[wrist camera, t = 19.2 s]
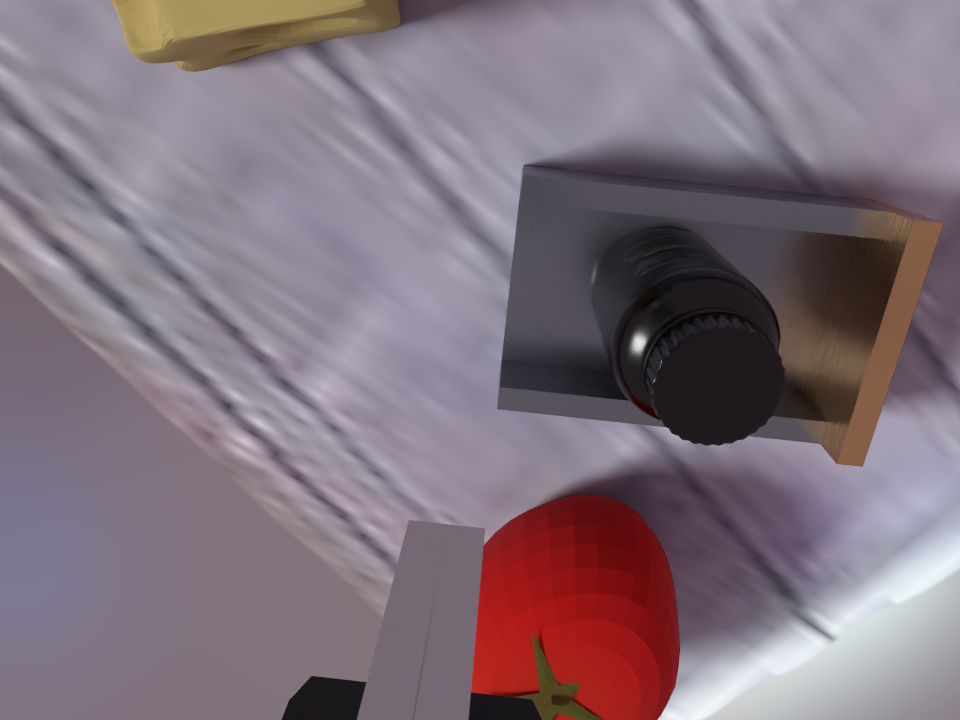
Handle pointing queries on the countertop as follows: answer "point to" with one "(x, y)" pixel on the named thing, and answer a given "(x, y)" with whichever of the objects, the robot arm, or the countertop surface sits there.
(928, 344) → the countertop surface
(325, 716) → the robot arm
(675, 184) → the guide channel
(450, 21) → the countertop surface
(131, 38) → the cheese
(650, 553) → the tomato
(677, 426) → the supplement bottle
